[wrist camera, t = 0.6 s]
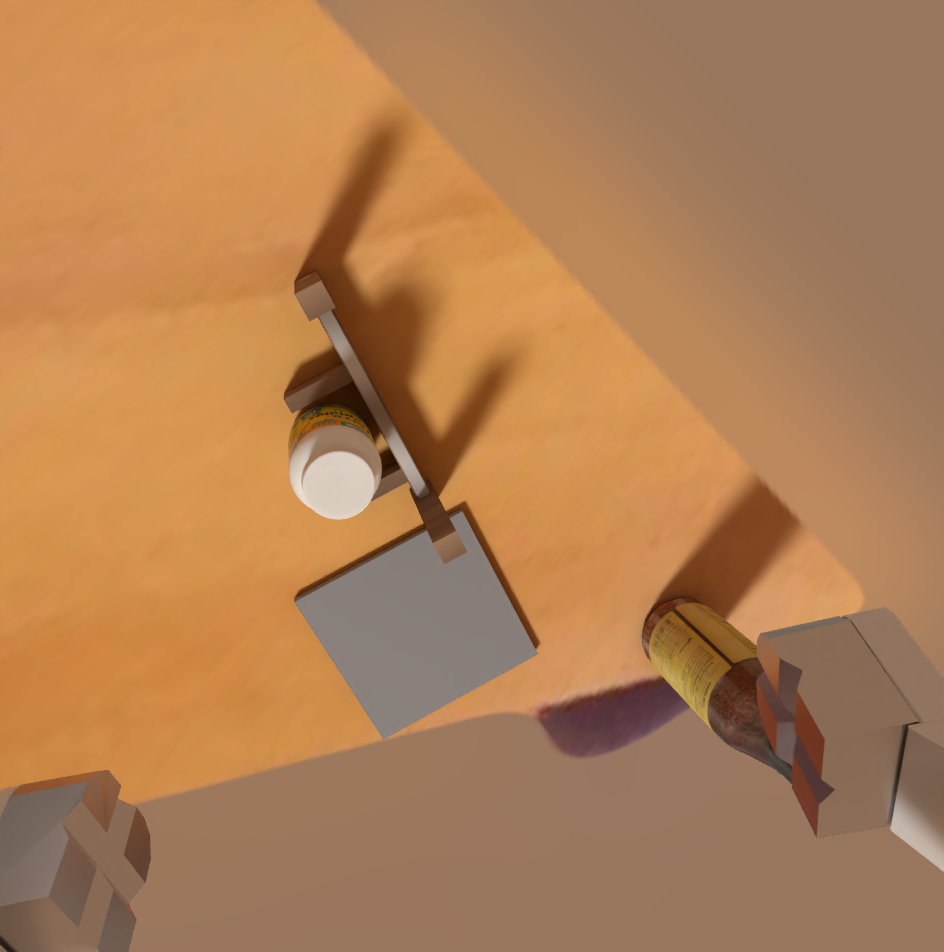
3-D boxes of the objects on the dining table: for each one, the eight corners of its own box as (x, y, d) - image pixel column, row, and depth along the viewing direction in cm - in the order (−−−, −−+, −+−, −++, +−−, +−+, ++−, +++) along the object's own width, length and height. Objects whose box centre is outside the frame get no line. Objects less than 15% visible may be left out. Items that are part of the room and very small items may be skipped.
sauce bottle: (652, 678, 64) (798, 862, 46) (627, 615, 62) (769, 781, 44) (725, 641, 65) (900, 809, 46) (703, 577, 63) (875, 726, 44)
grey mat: (294, 598, 56) (294, 601, 56) (460, 508, 57) (462, 511, 56) (382, 734, 61) (383, 739, 60) (535, 650, 61) (538, 654, 61)
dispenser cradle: (236, 311, 50) (223, 331, 41) (316, 270, 50) (321, 280, 41) (367, 535, 56) (382, 597, 47) (438, 497, 56) (467, 551, 47)
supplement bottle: (282, 474, 54) (280, 524, 45) (296, 394, 52) (296, 430, 43) (363, 486, 55) (377, 537, 46) (378, 409, 54) (396, 447, 45)
